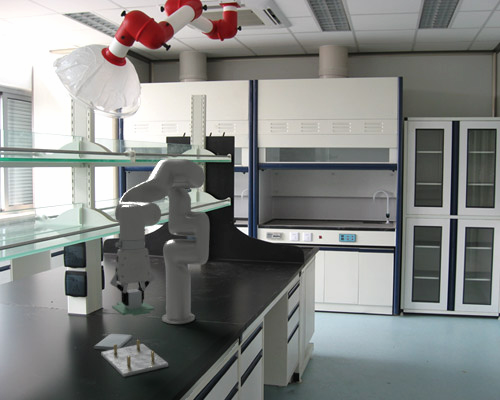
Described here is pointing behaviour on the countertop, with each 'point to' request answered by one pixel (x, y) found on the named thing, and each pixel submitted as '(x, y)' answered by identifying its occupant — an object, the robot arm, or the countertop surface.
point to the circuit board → (133, 311)
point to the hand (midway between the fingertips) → (132, 303)
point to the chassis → (133, 359)
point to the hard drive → (113, 341)
